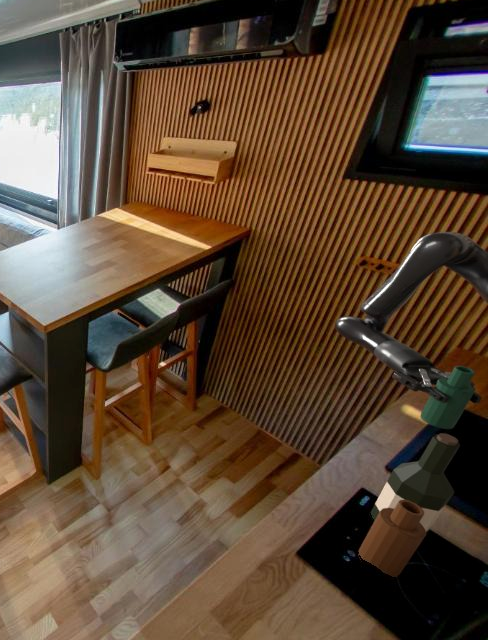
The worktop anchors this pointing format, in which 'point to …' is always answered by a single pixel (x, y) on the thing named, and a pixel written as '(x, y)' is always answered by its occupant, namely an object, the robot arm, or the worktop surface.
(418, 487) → the wine bottle
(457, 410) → the green bottle
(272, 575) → the worktop surface
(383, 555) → the brown bottle
